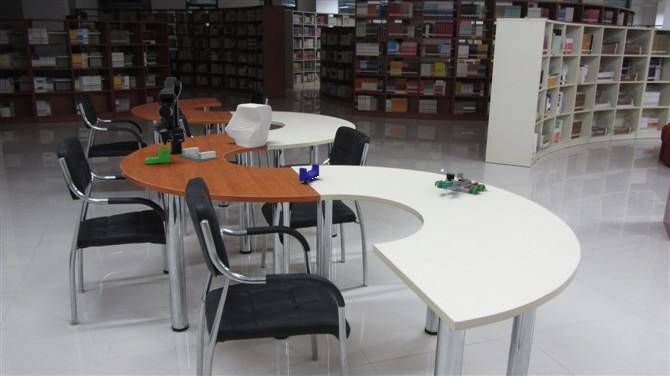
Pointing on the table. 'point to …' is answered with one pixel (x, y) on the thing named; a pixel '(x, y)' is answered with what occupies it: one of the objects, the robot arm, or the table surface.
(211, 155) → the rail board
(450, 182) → the robot kit
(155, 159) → the mechanical part
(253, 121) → the white faceted sculpture
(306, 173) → the cable clip
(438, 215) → the table surface
